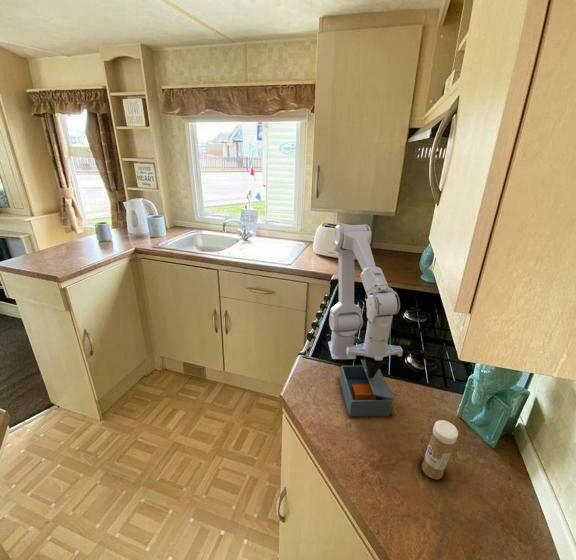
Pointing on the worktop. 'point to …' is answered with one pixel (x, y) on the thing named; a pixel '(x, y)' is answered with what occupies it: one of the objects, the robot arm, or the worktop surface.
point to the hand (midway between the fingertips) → (370, 375)
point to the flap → (378, 383)
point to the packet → (362, 392)
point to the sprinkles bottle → (439, 449)
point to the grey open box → (361, 407)
